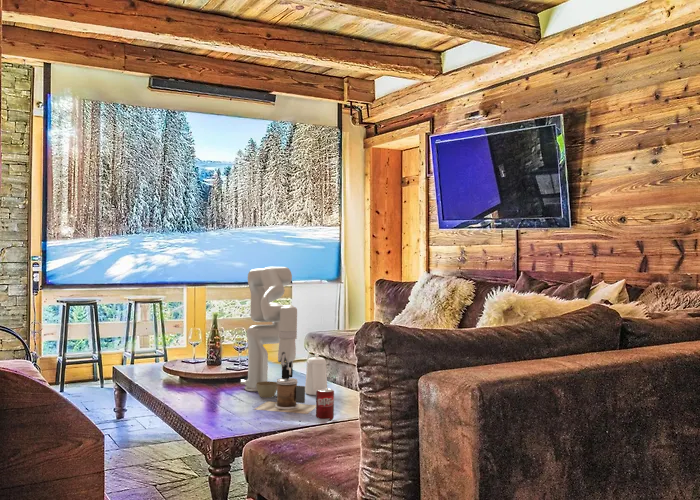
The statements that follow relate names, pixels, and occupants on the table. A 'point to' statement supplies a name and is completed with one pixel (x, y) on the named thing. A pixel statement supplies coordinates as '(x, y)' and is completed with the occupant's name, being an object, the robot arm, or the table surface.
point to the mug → (289, 396)
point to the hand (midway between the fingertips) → (287, 377)
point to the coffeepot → (315, 375)
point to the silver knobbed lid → (287, 381)
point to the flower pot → (266, 389)
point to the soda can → (325, 404)
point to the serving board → (301, 409)
